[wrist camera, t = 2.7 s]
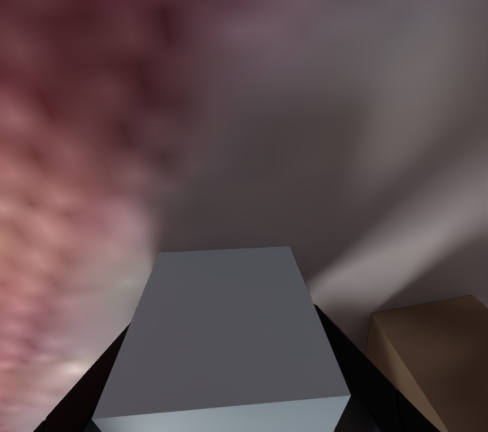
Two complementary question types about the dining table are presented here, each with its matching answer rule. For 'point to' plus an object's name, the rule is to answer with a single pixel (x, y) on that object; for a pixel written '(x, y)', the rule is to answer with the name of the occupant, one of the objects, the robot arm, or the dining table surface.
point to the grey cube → (224, 350)
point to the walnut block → (436, 359)
